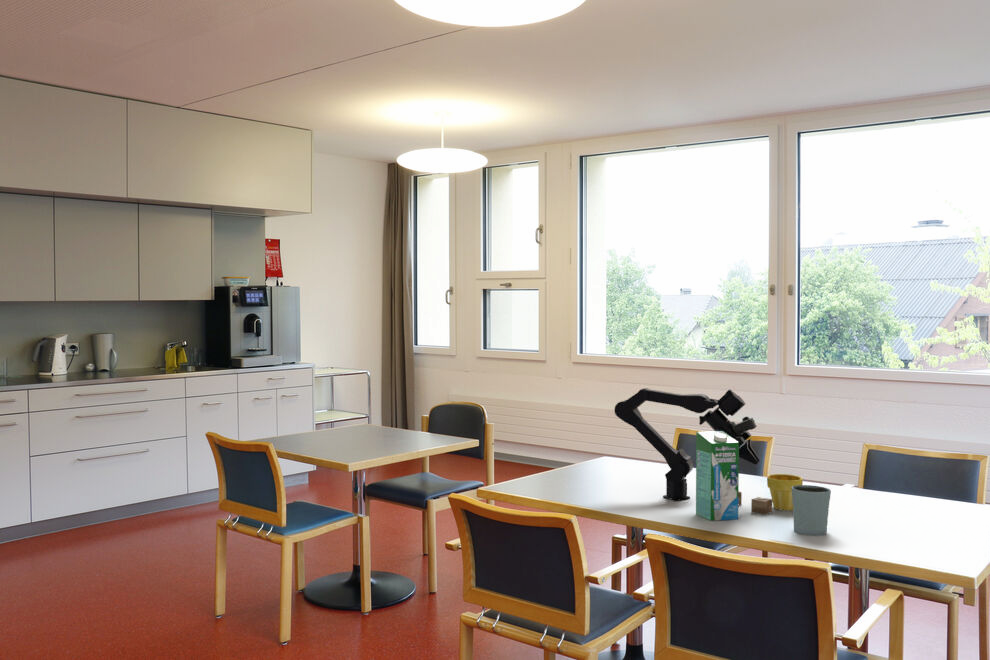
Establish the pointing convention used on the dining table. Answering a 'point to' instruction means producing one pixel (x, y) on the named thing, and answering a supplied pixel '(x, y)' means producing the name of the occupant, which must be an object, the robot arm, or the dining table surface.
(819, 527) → the grey cup
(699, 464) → the milk carton
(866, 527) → the dining table surface
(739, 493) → the marked block
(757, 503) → the marked block
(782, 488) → the plant pot
